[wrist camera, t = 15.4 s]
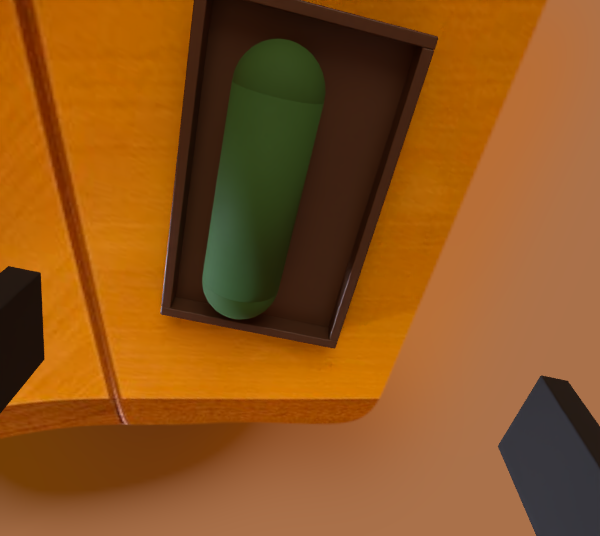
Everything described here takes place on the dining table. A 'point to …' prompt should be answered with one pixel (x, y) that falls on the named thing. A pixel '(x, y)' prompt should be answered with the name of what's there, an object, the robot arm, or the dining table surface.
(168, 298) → the tray
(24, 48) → the dining table surface
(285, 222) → the cucumber
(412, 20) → the dining table surface
